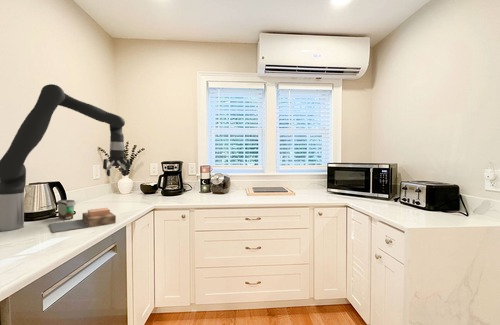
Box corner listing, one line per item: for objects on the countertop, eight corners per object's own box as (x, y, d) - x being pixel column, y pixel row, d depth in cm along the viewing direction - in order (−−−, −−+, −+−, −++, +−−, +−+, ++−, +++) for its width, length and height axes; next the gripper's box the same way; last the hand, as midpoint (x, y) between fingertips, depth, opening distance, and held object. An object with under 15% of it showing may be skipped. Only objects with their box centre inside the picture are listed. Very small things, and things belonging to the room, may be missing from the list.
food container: (79, 218, 131) (79, 201, 131) (66, 220, 126) (67, 202, 126) (69, 215, 137) (70, 199, 137) (57, 217, 132) (57, 200, 132)
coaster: (90, 216, 120) (90, 212, 120) (87, 214, 125) (87, 209, 125) (109, 214, 127) (109, 209, 127) (106, 212, 132) (106, 207, 132)
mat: (52, 233, 106) (52, 232, 106) (49, 224, 118) (49, 223, 118) (87, 227, 115) (87, 226, 115) (81, 220, 128) (81, 219, 128)
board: (89, 227, 116) (89, 219, 115) (82, 220, 128) (82, 213, 128) (115, 222, 124) (115, 215, 124) (106, 216, 137) (106, 210, 137)
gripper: (101, 149, 133) (101, 176, 133) (128, 149, 137) (127, 176, 137) (106, 149, 140) (106, 175, 141) (131, 150, 144) (131, 175, 144)
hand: (116, 176), depth 139 cm, fingers open, 8 cm apart
